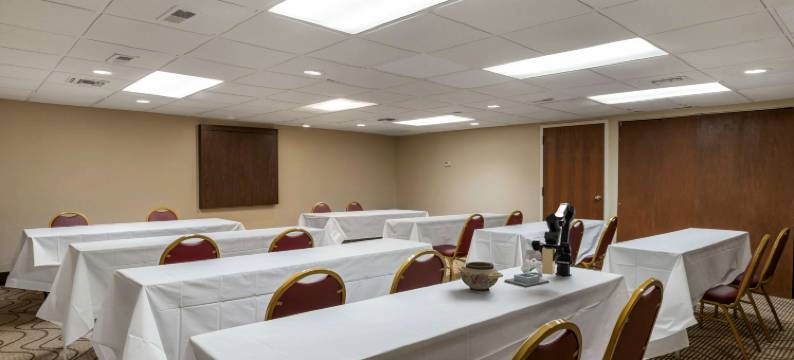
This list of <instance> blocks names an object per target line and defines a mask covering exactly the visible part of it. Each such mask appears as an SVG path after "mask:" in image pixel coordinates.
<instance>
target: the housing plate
mask: <svg viewBox="0 0 794 360" xmlns="http://www.w3.org/2000/svg"><path fill="white" fill-rule="evenodd" d="M504 283H508V284H513V285H515V286H520V287H524V288H529V287H534V286H538V285H543V284H548V283H550V280H548V279H543V278H540V275H538V274H532V273H530V272H528V273H527V272H526V273H523V272H522V273H518V274H517V273H516V274H514V275H513V277H512V278H507V279H504Z"/></svg>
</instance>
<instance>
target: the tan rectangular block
mask: <svg viewBox="0 0 794 360" xmlns="http://www.w3.org/2000/svg"><path fill="white" fill-rule="evenodd" d="M555 251H556V249H555V248H550V247H544V248H542V256H541V261H542V275H554V274H555V273H556V264H555V261H553V258H554V254H555Z"/></svg>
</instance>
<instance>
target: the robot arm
mask: <svg viewBox="0 0 794 360" xmlns="http://www.w3.org/2000/svg"><path fill="white" fill-rule="evenodd" d="M576 215H577V211H576V207H574V206H573V205H570V203H566V202H565V203H562V202H561V203H559V207H558V209H557V210H556V212H555V213H553V212H552V213H551V212H550V214H549V215H547V216H546V217H545V222H546V225H547V226H546V227H547V229H548V231H545V232H544V233H543V234H544V236H543V239H544V242H541V240H538V239H537V240H536V239H533V240H532V241H531V243H530V244H531V247H532V250H533V251H537V252H539V253H541V257H542V248H544V247H550V248H555V254H554V258H553V261H555V265H556V272H555V273H554V274H555V275H558V276H561V277H567V276H572V273H571V266H572V265H574V263H573V256H572V246H571V243H570V232H571V223H572V222H573V221H574V220H575V216H576Z"/></svg>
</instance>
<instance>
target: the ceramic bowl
mask: <svg viewBox="0 0 794 360" xmlns="http://www.w3.org/2000/svg"><path fill="white" fill-rule="evenodd" d="M494 266H495V265H494V264H493V262H488V261H469V262H466V263H465V265H462V266H458V268H457V269H458V271H459V272H460V278H461V280H462V282H463V283H464V284H465V285H466V286H467V287H469V291H471V292H473V293H478V294H479V293H481V294H482V293H488V292H490V288H492V287H494V286H495V285H496V284H497V283H498V281H499V279H500V278H503V277H504V274H503V273H502V272H499V271H498V270H497V269H495V268H494Z"/></svg>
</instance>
